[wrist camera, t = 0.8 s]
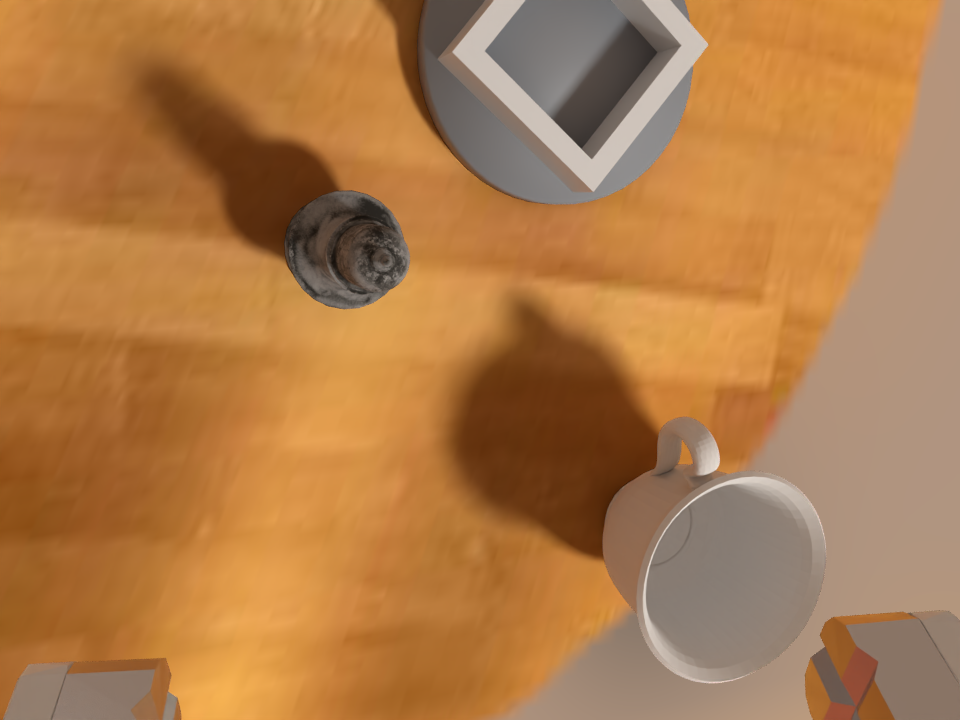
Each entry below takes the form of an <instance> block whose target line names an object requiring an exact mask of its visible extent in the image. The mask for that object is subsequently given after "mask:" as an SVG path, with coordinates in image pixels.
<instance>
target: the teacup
mask: <svg viewBox="0 0 960 720" xmlns="http://www.w3.org/2000/svg"><path fill="white" fill-rule="evenodd" d="M681 440H683V441H684V442H685V444H686V445H687V447H688V449H689V451H690V453H691V456H692V460H693V464H691V465H686V464H677V463H678V461H679V459H680V455H681ZM719 463H720V457H719V451H718V447H717V444H716V442H715V439H714V438H713V436H712V434H711V433H710V431H709V430H708V429H707V428H706V427H705V426H704V425H703V424H701V423H700V422H699V421H697V420H695V419H693V418H690V417H679V418H675V419H673V420H671V421H669V422H667V423H666V424H665V425H664V426H663V427H662V428H661V430H660V432H659V435H658V442H657V464H656V467H655V468H654V469H652V470H650V471H648V472H646V473H644V474H642V475H640V476H639V477H637V478H635V479H634V480H633V481H631V482H629V483H627V484H626V485H624V486H623V487H622V488H621V489H620V490H619V491H618V492H617V493H616V494H615V496H614V497H613V499H612V501H611V502H610V504H609V507H608V509H607V513H606V517H605V526H604V531H603V541H602V543H603V556H604V562H605V565H606V568H607V570H608V573H609V575H610V577H611V579H612V581H613V583H614V585H615V586H616V588H617V589H618V591H619V592H620V594H621V595H622V596H623V598H624V599H625V600H626V602H627V603H628V604H629V605H630V606H631V608H632V609H633V610H634V611H635V613H636V614H637V615H638V621H639V625H640V628H641V631H642V634H643V637H644V639H645V641H646V643H647V645H648V647H649V648H650V650H651V651H652V653H653V654H654V655H655V656H656V658H657V659H658V660H659V661H660V662H661V663H662V664H663V665H664V666H665V667H667V668H668V669H670V670H671V671H672V672H674V673H675V674H678V675H679V676H681V677H683V678H686V679H689V680H692V681H696V682H702V683H721V682H726V681H732V680H735V679H738V678H742V677H744V676H747V675H749V674H751V673H753V672H755V671H757V670H759V669H761V668H762V667H764V666H766V665H767V664H769V663H770V662H771V661H773V660H774V659H776V658H777V657H778V656H780V655H781V654H782V653H783V652H784V651H785V650H786V649H787V648H788V647H789V646H790V645H791V644H792V643H793V642H794V641H795V639H796V638H797V637H798V636H799V634H800V633H801V631H802V630H803V629H804V627H805V626H806V624H807V622H808V620H809V618H810V617H811V615H812V612H813V610H814V608H815V606H816V604H817V601H818V598H819V595H820V592H821V588H822V584H823V580H824V574H825V565H826V544H825V536H824V532H823V528H822V524H821V522H820V519H819V517H818V514H817V512H816V510H815V509H814V507H813V505H812V504H811V502H810V501H809V500H808V498H807V497H806V496H805V495H804V493H802V492H801V491H800V490H799V489H798V488H797V487H796V486H794V485H793V484H792V483H790V482H789V481H787V480H786V479H784V478H781V477H779V476H777V475H774V474H770V473H766V472H760V471H743V472H736V473H732V474H726V473H723V472H719V471H716V469H717V468H718V466H719Z"/></svg>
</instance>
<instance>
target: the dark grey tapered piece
mask: <svg viewBox="0 0 960 720" xmlns="http://www.w3.org/2000/svg"><path fill="white" fill-rule="evenodd" d="M284 246H285V257H286V260H287V262H288V265H289V268H290V270H291V271H292V273H293V275H294V277H295V279H296V280H297V282H298V283H299V285H300V286H301V288H302V289H303V290H304V291H305V292H306V293H308V294H309V295H310V296H311V297H312V298H313V299H314V300H316V301H319V302H321V303H323V304H325V305H327V306H329V307H335V308H340V309H353V308H360V307H363V306H366V305H369V304H372V303H374V302H375V301H377V300H378V299H380V298H381V297H382V296H384V295H385V294H386V293H387V292H388V291H389V290H390V289H392V288H394V287H395V286H397V285H398V284H399V283H400V282H401V281H402V280H403V279H404V278H405V276H406V273H407V271H408V268H409V264H410V254H409V250H408V247H407V244H406V243H405V241H404V238H403V234H402V231H401V228H400V225H399V223H398V222H397V220H396V218H395V217H394V215H393V214H392V212H391V211H390V210H389V209H388V208H387V207H386V206H385V205H384V204H382V203H381V202H380V201H379V200H377V199H375V198H373V197H371V196H369V195H368V194H364V193H360V192H356V191H352V190H351V191H334V192H331V193H328V194H325V195H322V196H320V197H318V198H317V199H315V200H314V201H311V202H310V203H308V204H307V205H305V206H304V207H302V208H301V209H300V210H299V211H298V212H297V214H296V215H295V216H294V217H293V218H292V220H291V222H290V224H289V226H288V228H287V231H286V236H285V242H284Z"/></svg>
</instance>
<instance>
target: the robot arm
mask: <svg viewBox="0 0 960 720" xmlns="http://www.w3.org/2000/svg"><path fill="white" fill-rule="evenodd" d="M820 637H821V639H822V641H823V643H824V645H825V647H824V648H823V649H822V650H820V651H819V652H818V653H816V654H815V655H813V656H812V657H811V658H810V661H809V665H808V667H807V670H806V673H805V688H806V689H805V690H806V698H807V703H808V706H809V710H810V714H811V716H812V718H813V720H960V620H959V619H958V618H957V617H956V616H955V615H953V614H952V613H951V612H949V611H944V610H937V611H925V612H913V613H905V612H894V613H880V614H867V615H854V616H841V617H833V618H831V619H830V620H828V621H827V622H825V624H824V627H823V629H822V632H821V633H820ZM170 679H171V673H170V669H169V666H168V663H167V660H166V658H157V659H133V660H109V661H85V662H59V663H42V664H29V665H28V666H27V668H26V669H25V670H24V672H23V673H22V674H21V676H20V677H19V678H18V681H17V683H16V686H15V689H14V691H13V694H12V697H11V700H10V702H9V705H8V708H7V710H6V713H5V716H4V718H3V720H181V710H180V706H179V702H178V698H177V697H175V696H174V695H172V694H171V693H169V692H168V689H169V684H170Z"/></svg>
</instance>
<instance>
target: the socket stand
mask: <svg viewBox="0 0 960 720" xmlns="http://www.w3.org/2000/svg"><path fill="white" fill-rule="evenodd" d="M707 46H708V43H707V42H706V41H705V40H704V39H703V38H702V36H701V35H700V34H699V33H698V32H697V31H696V29H695V28H694V27H693V26H692V25H691V24H690V20H689V14H688V11H687V7H686V4H685V1H684V0H424V3H423V8H422V12H421V17H420V21H419V29H418V39H417V60H418V70H419V77H420V84H421V88H422V91H423V95H424V99H425V103H426V105H427V108H428V110H429V113H430V115H431V118H432V120H433V123H434V125H435V126H436V128H437V130H438V132H439V134H440V135H441V137H442V139H443V141H444V142H445V143H446V145H447V146H448V147H449V149H450V150H451V152H452V153H453V154H454V156H455V157H456V158H457V159H458V160H459V161H460V162H461V163H462V164H463V165H464V166H465V167H466V168H467V169H468V170H469V171H470V172H471V173H473V174H474V175H475V176H476V177H477V178H479V179H480V180H481V181H483V182H484V183H486V184H487V185H489V186H491V187H492V188H494V189H496V190H497V191H500V192H502V193H504V194H507V195H509V196H511V197H514V198H517V199H521V200H524V201H528V202H534V203H542V204H577V203H583V202H589V201H593V200H596V199H599V198H602V197H606V196H608V195H610V194H612V193H614V192H616V191H618V190H621V189H622V188H624V187H625V186H627V185H628V184H630V183H631V182H633V181H634V180H636V179H637V178H638V177H639V176H641V175H642V174H643V173H644V172H645V171H646V170H647V169H649V168H650V166H651V165H652V164H653V163H654V162H655V161H656V160H657V158H658V157H659V156H660V155H661V154H662V152H663V151H664V149H665V148H666V146H667V145H668V143H669V142H670V140H671V139H672V137H673V135H674V133H675V131H676V129H677V127H678V125H679V123H680V120H681V117H682V115H683V112H684V110H685V107H686V103H687V99H688V95H689V91H690V86H691V79H692V72H693V64H694V63H695V62H696V60H697V59H698V58H699V56H700V55H701V54H702V53H703V51H704V50H705V49H706V47H707Z"/></svg>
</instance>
